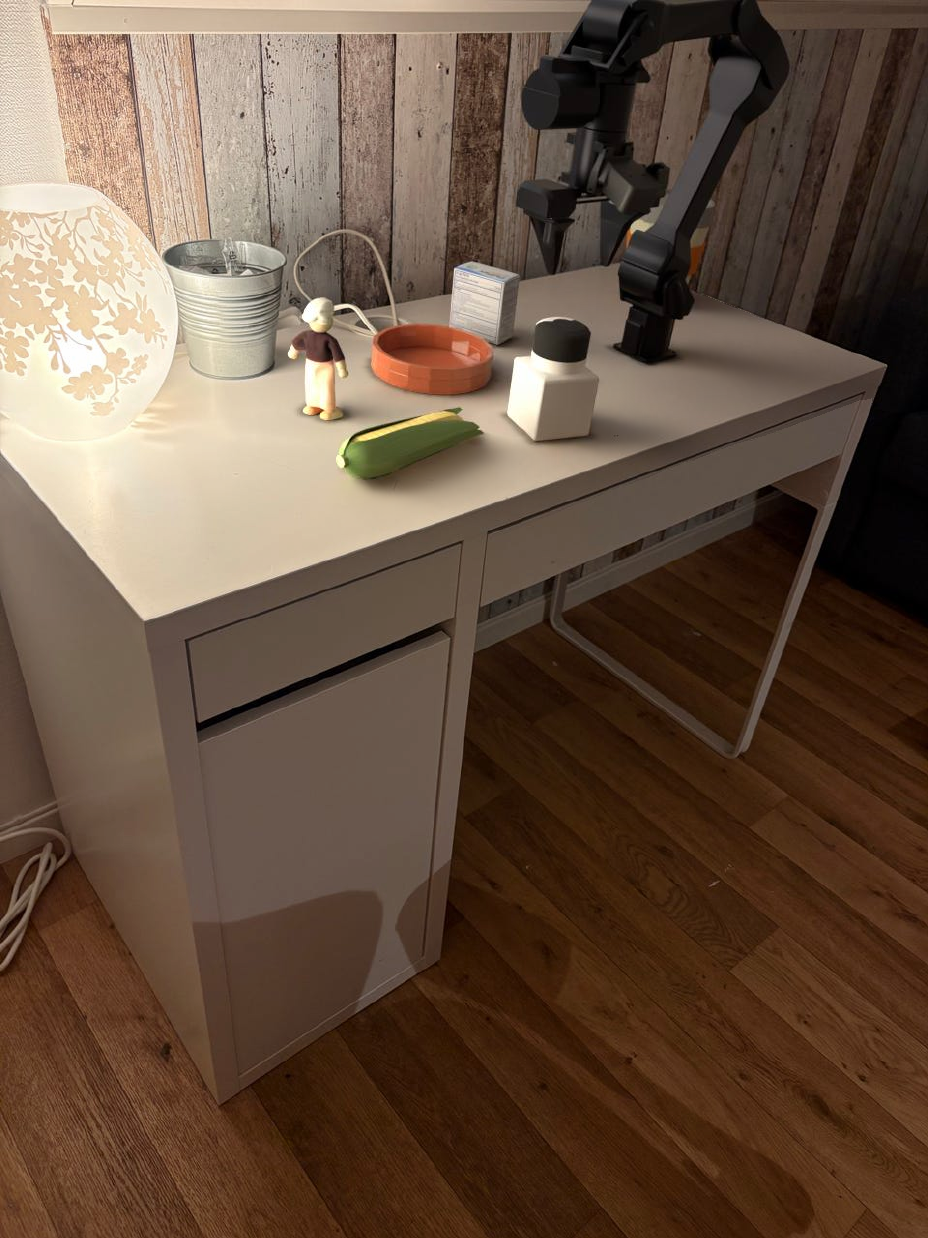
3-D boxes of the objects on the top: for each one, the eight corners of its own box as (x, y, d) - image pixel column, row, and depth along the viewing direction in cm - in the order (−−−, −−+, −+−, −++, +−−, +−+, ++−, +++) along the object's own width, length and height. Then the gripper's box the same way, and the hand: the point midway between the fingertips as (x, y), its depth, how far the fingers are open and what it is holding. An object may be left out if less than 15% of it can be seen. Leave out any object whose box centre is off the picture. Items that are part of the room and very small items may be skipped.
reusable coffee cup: (674, 317, 147) (698, 213, 138) (600, 295, 152) (619, 194, 143) (704, 299, 156) (729, 200, 147) (634, 279, 161) (653, 183, 152)
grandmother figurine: (357, 412, 108) (361, 300, 101) (343, 425, 105) (346, 310, 98) (295, 397, 110) (294, 285, 102) (279, 410, 107) (277, 295, 99)
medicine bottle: (589, 436, 109) (609, 333, 102) (533, 442, 107) (550, 336, 100) (559, 410, 115) (576, 309, 107) (506, 415, 112) (519, 312, 105)
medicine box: (513, 338, 133) (522, 274, 127) (497, 346, 129) (505, 281, 124) (465, 322, 136) (471, 259, 130) (447, 330, 132) (453, 266, 127)
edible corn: (323, 474, 96) (323, 432, 93) (464, 426, 108) (468, 388, 106) (356, 495, 93) (358, 452, 91) (497, 444, 106) (503, 405, 103)
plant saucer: (440, 340, 129) (442, 316, 127) (515, 381, 120) (518, 356, 118) (348, 358, 121) (348, 333, 119) (420, 403, 112) (422, 377, 110)
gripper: (595, 146, 97) (570, 300, 107) (711, 139, 108) (679, 280, 117) (521, 123, 104) (504, 270, 113) (638, 119, 114) (613, 254, 124)
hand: (578, 269), depth 117 cm, fingers open, 9 cm apart
